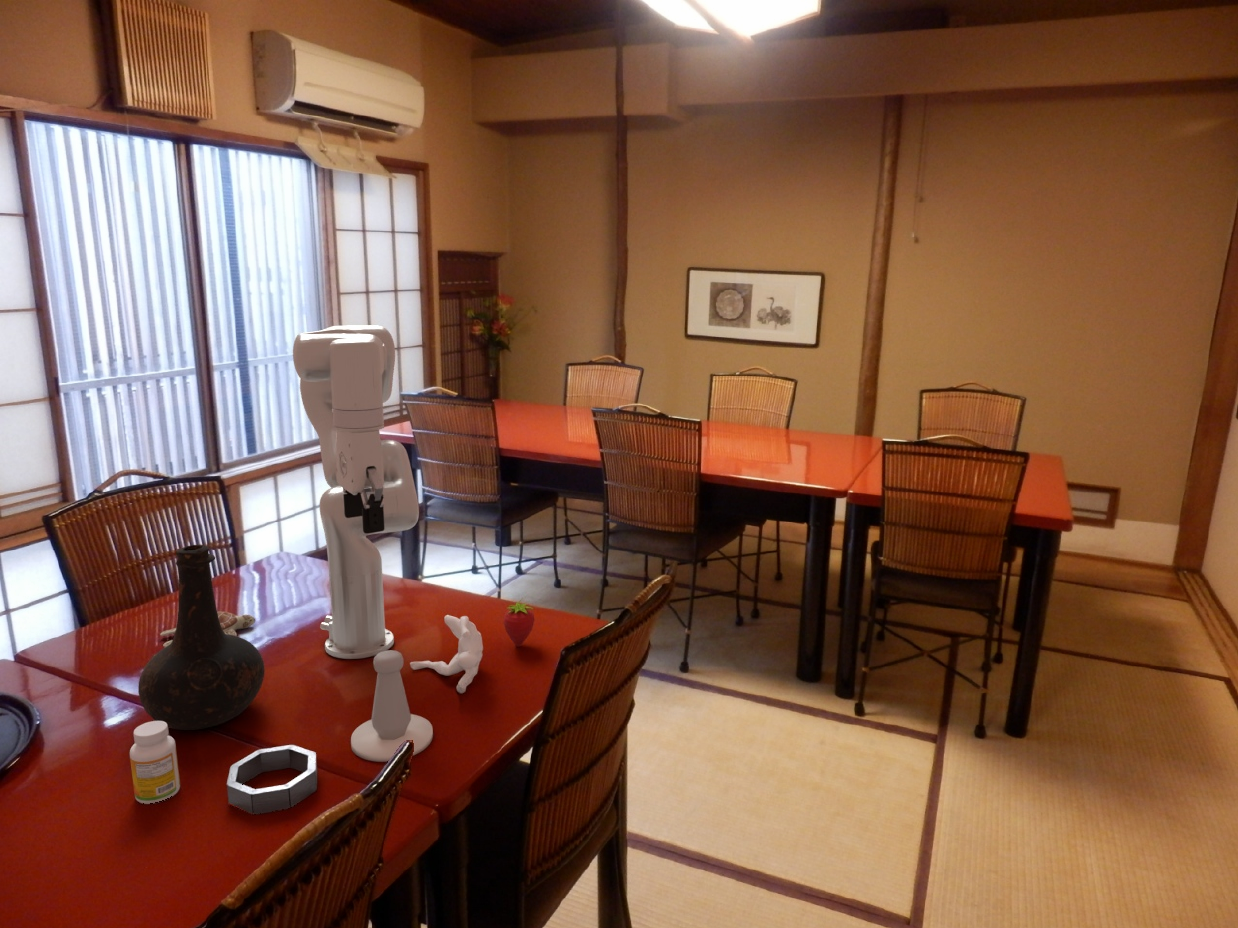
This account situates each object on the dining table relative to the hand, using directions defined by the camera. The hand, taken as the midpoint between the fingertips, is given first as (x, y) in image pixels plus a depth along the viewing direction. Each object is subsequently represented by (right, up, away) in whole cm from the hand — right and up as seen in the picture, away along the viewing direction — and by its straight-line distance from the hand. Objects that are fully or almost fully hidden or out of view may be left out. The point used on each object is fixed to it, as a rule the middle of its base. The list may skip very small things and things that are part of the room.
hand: (364, 523), depth 133 cm
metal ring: (-6, -35, -19) cm, 40 cm away
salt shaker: (+6, -32, -7) cm, 33 cm away
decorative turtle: (-39, -25, +29) cm, 55 cm away
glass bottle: (-25, -31, 0) cm, 40 cm away
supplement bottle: (-22, -35, -20) cm, 46 cm away
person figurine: (+13, -28, +15) cm, 34 cm away
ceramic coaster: (+6, -32, -6) cm, 34 cm away
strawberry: (+22, -26, +26) cm, 43 cm away
